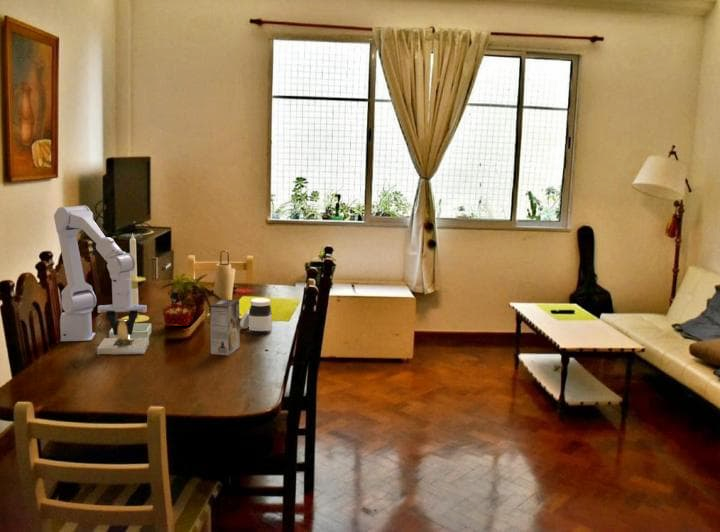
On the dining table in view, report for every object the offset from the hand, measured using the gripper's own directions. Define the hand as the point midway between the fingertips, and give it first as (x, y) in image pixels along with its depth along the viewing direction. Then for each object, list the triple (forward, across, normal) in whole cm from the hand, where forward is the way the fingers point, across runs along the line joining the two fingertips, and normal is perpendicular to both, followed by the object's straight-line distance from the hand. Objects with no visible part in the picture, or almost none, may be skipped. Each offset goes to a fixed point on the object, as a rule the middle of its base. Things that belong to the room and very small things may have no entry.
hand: (123, 334), depth 213 cm
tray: (+5, 0, +14) cm, 15 cm away
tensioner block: (+5, 0, 0) cm, 5 cm away
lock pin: (+3, 0, 0) cm, 3 cm away
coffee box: (+5, +32, -4) cm, 33 cm away
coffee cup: (+5, +16, +27) cm, 32 cm away
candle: (+5, -2, +36) cm, 36 cm away
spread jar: (+5, +42, +18) cm, 46 cm away
